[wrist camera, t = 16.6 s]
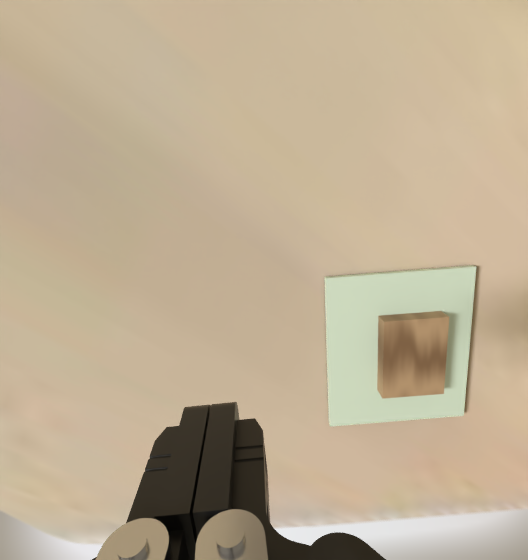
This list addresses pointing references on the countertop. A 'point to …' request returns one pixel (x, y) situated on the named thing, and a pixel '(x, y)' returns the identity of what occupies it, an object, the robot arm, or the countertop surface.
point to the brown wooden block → (412, 354)
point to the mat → (364, 340)
